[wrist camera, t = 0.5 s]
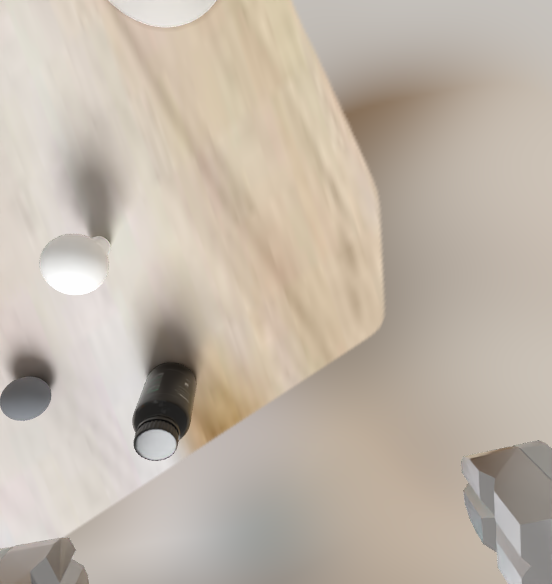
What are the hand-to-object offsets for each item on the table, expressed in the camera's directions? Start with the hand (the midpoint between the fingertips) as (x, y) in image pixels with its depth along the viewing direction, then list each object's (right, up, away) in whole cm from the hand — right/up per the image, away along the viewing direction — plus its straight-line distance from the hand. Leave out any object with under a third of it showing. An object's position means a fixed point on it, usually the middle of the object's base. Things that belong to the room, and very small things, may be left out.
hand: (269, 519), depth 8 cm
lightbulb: (-21, +10, +37) cm, 44 cm away
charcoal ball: (-32, -9, +40) cm, 52 cm away
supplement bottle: (-15, -8, +45) cm, 48 cm away
